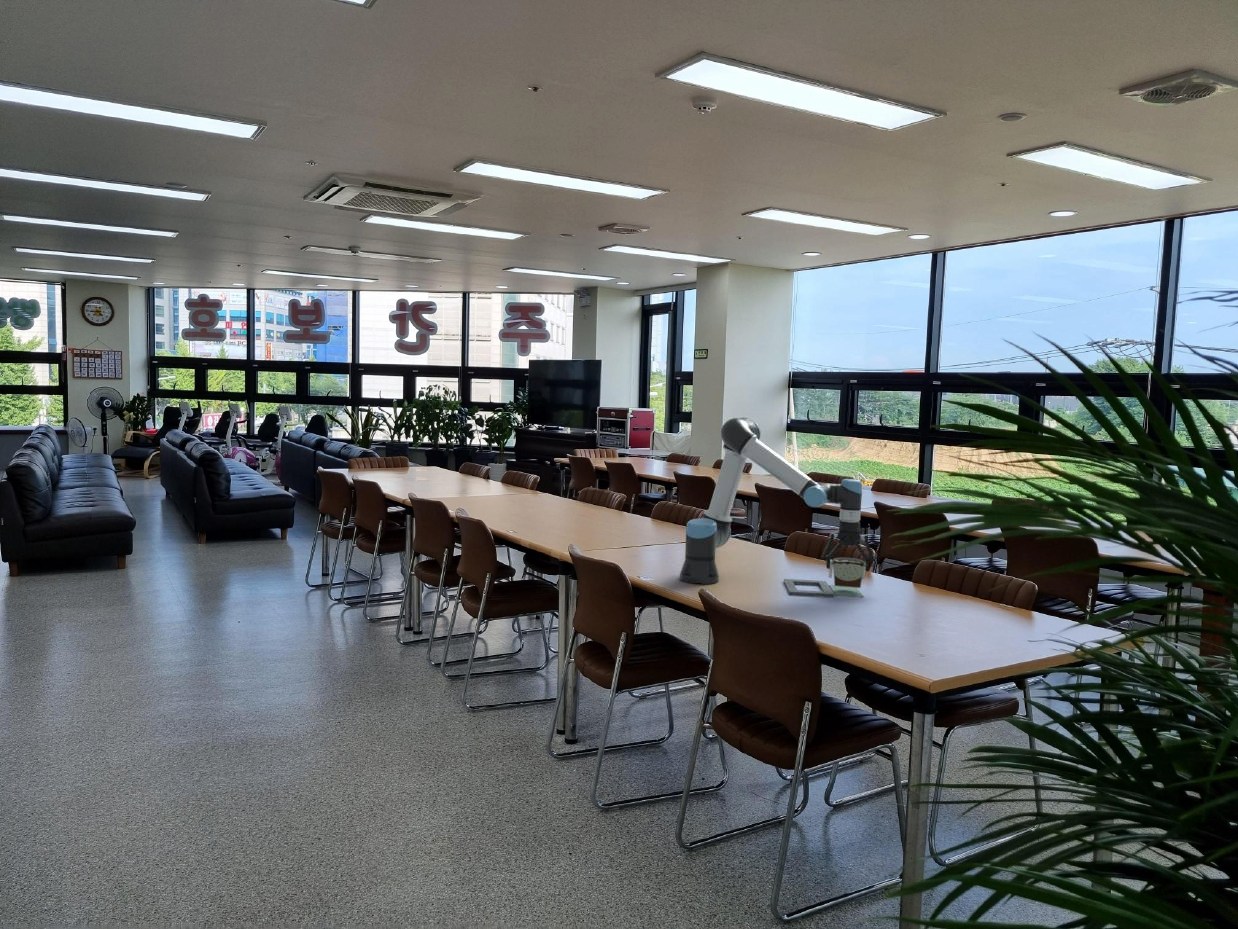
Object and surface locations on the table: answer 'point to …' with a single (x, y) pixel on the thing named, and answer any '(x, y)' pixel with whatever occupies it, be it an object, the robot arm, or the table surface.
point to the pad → (845, 591)
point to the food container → (848, 572)
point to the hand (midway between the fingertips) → (846, 578)
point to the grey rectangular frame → (793, 591)
